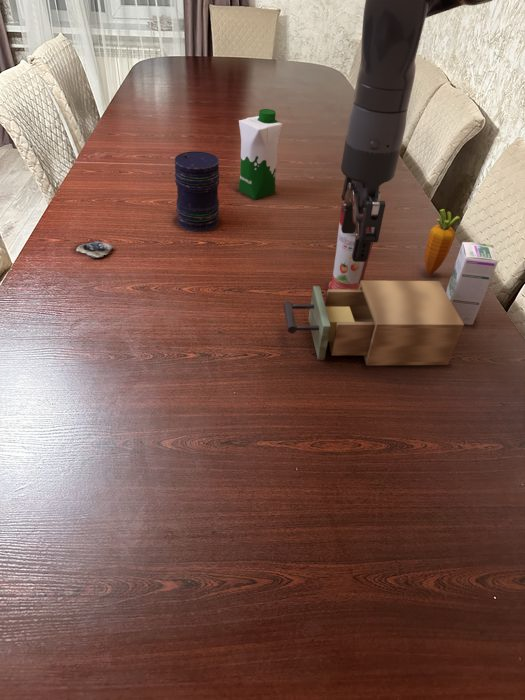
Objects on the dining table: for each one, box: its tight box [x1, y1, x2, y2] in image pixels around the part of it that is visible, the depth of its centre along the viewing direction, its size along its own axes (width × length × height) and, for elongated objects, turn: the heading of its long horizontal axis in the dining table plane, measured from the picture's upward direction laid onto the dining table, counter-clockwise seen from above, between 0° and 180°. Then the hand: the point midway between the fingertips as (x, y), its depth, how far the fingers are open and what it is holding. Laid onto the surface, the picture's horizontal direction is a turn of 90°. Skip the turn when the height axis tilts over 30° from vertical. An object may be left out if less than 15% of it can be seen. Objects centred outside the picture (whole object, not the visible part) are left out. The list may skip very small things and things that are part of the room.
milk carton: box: [237, 108, 283, 201], centre depth 132 cm, size 9×9×20 cm
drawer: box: [283, 285, 375, 360], centre depth 91 cm, size 19×11×7 cm, turn 94°
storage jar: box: [174, 150, 220, 232], centre depth 119 cm, size 10×10×15 cm
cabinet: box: [359, 279, 465, 366], centre depth 92 cm, size 15×13×9 cm
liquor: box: [328, 200, 374, 290], centre depth 96 cm, size 7×7×28 cm
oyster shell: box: [76, 240, 114, 259], centre depth 111 cm, size 7×8×2 cm
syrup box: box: [445, 241, 499, 326], centre depth 97 cm, size 6×6×14 cm
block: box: [326, 307, 355, 342], centre depth 91 cm, size 4×4×4 cm
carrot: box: [424, 208, 461, 276], centre depth 108 cm, size 5×5×15 cm
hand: (353, 245), depth 81 cm, fingers open, 8 cm apart
